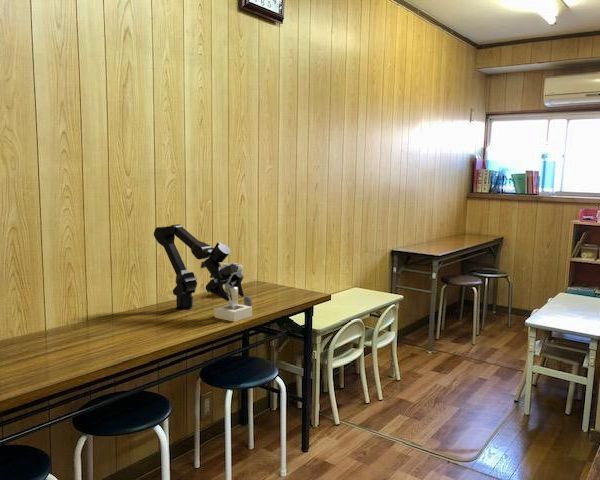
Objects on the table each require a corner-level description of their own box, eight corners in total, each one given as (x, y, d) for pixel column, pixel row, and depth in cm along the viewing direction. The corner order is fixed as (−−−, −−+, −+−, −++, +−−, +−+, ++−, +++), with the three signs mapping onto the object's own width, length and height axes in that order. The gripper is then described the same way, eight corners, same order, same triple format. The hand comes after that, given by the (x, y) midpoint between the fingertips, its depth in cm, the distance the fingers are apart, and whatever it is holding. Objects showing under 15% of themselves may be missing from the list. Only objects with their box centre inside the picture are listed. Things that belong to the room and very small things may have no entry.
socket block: (234, 321, 214) (234, 312, 213) (214, 317, 220) (214, 308, 220) (252, 316, 223) (252, 306, 222) (233, 312, 229) (232, 303, 229)
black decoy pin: (243, 311, 231) (243, 297, 230) (244, 309, 234) (244, 296, 233) (251, 311, 231) (250, 297, 230) (252, 309, 234) (252, 296, 233)
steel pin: (230, 318, 219) (230, 288, 217) (227, 316, 222) (227, 286, 221) (239, 317, 220) (239, 287, 219) (236, 315, 224) (236, 286, 223)
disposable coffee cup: (235, 289, 275) (235, 261, 273) (247, 293, 267) (247, 263, 265) (218, 292, 268) (217, 263, 267) (229, 296, 260) (229, 266, 258)
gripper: (210, 260, 213) (231, 290, 208) (240, 254, 228) (260, 282, 224) (196, 277, 218) (216, 307, 213) (226, 270, 234) (246, 298, 229)
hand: (236, 298), depth 220 cm, fingers open, 9 cm apart
